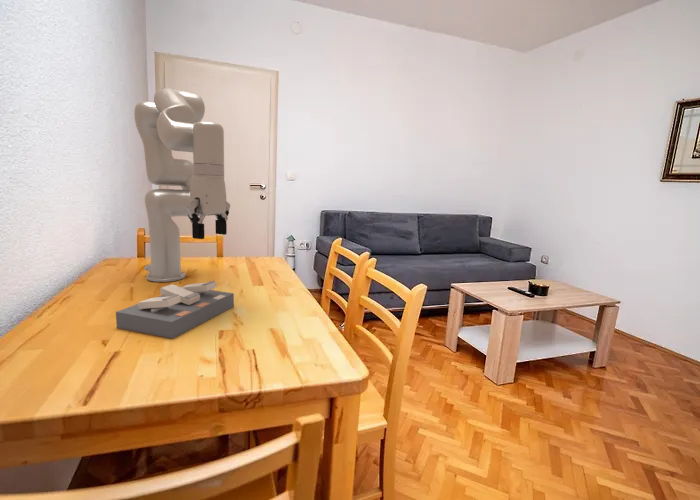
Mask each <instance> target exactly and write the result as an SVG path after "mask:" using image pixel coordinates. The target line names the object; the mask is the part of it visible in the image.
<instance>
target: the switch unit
mask: <svg viewBox="0 0 700 500" xmlns="http://www.w3.org/2000/svg"><path fill="white" fill-rule="evenodd" d="M194 293H195V292H194ZM196 293H199V295H200V299H199V301H197V302H195V303H193V304H190V305H187V304H185V303H182V302H179V303H177V304H174V305H172V306H169V307H159V308H146V309H139V307H138V303H137V304H134V305H131V306H128V307H125V308H123V309H120V310H117V311H115V318H116V319H115V320H116V329H120V330H121V329H122V330H127V331H131V332H135V333H141V334H147V335H151V336H152V335H153V336H157V337H162V338H167V339H172V340H173V339H175V338H177V337H179V336H180V335H182V334H184V333H186V332H188V331H191V330H192V329H194V328H196V327H197V326H200V325H202V324H205V322H208V321H209V320H211V319H213V318H215V317H216V316H218V315H221V314H222V313H225V312H227V311H228V310H230V309H232V308H234V306H235V301H234V299H235V297H234V296H235V293H234V292H227V291H221V290H214V289H211V290H209V291H202V292H196ZM158 297H167V296H165V295H162V294H160V295H159V296H158Z"/></svg>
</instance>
